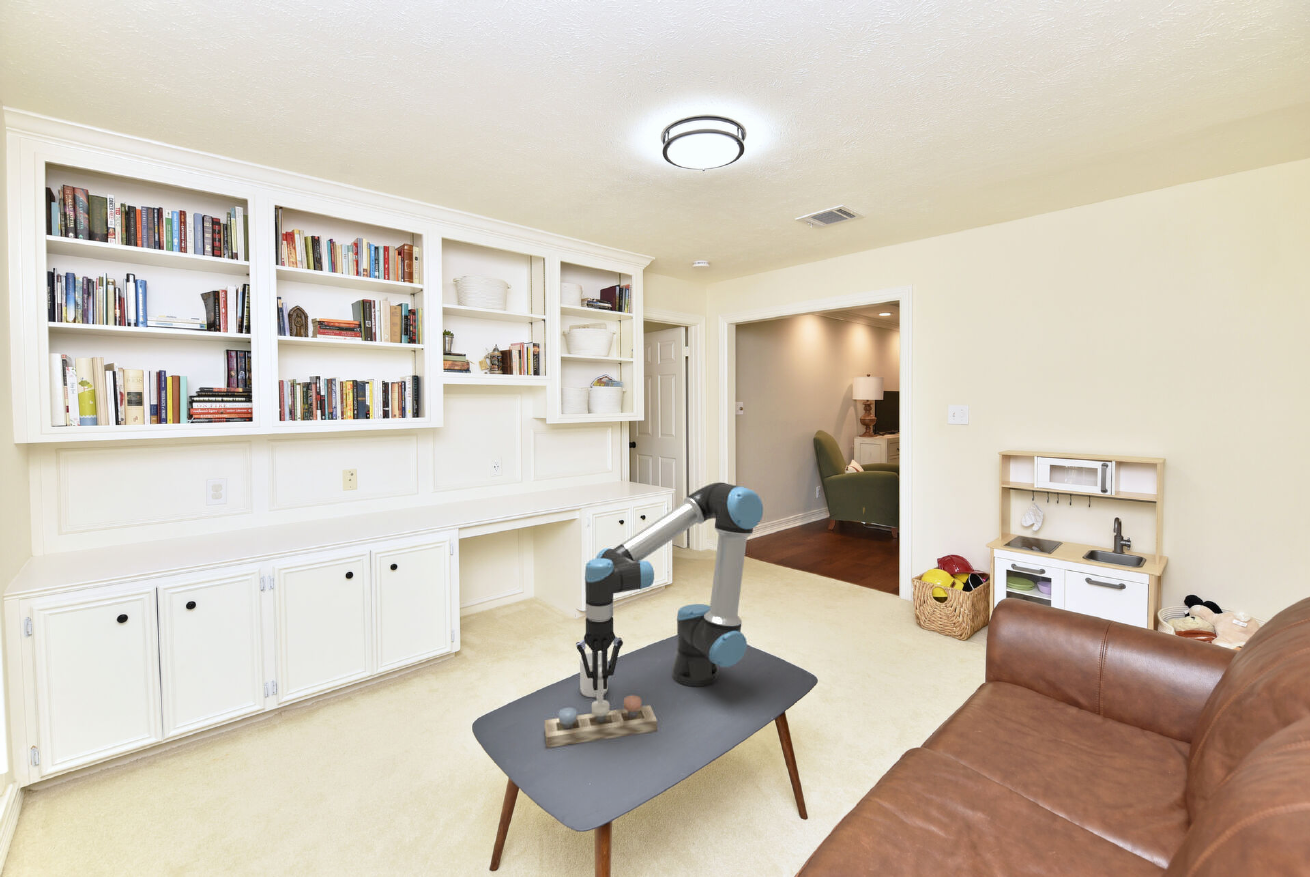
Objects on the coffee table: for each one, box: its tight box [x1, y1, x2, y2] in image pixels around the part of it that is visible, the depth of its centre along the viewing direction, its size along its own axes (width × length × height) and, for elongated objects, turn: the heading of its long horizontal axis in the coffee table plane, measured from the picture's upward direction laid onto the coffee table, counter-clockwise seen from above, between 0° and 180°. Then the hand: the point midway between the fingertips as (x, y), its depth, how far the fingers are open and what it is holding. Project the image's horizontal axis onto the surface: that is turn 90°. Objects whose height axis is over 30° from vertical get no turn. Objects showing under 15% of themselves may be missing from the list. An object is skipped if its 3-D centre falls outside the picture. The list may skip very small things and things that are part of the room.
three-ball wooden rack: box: [544, 705, 658, 749], centre depth 160 cm, size 30×8×3 cm, turn 104°
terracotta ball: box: [623, 695, 642, 718], centre depth 162 cm, size 5×5×4 cm
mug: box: [579, 651, 609, 698], centre depth 180 cm, size 9×12×11 cm
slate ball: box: [558, 707, 578, 730], centre depth 158 cm, size 5×5×4 cm
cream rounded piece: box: [591, 699, 610, 723], centre depth 160 cm, size 5×5×4 cm
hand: (599, 700), depth 160 cm, fingers closed
